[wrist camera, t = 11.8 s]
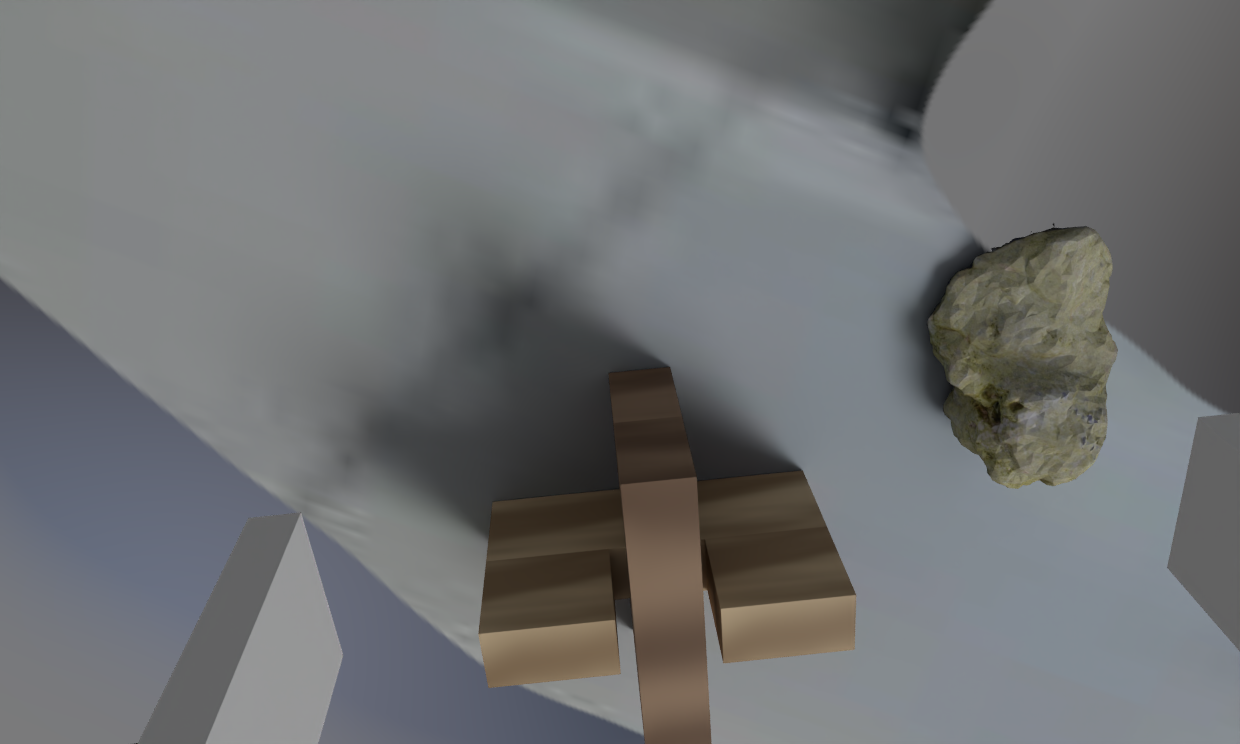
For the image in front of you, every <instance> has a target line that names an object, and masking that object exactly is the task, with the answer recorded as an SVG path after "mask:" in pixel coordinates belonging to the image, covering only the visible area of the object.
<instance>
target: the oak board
mask: <svg viewBox="0 0 1240 744" xmlns="http://www.w3.org/2000/svg"><path fill="white" fill-rule="evenodd" d="M697 492H698V510H699V528H700V546H701V565H702V583H703V591H704V590H708V594H709V599H710V604H711V608H712V613H713V617H714V622H715V627H716V631H717V636H718V640H719V645H720V650H721V654H722V659H723V663H731V662H741V661H750V660H760V659H770V658H779V657H789V656H798V655H808V654H817V653H827V652H837V651H846V650H854V649H855V617H856V593H855V591H854V589H853V586H852V584H851V582H850V579H849V577H848V575H847V572H846V570H845V568H844V565H843V563H842V561H841V558H840V556H839V554H838V552H837V549H836V547H835V545H834V542H833V540H832V538H831V535H830V533H829V531H828V528H827V526H826V524H825V521H824V519H823V517H822V514H821V512H820V510H819V507H818V505H817V503H816V500H815V498H814V496H813V493H812V491H811V489H810V486H809V484H808V482H807V479H806V477H805V475H804V472H803V470H802V471H792V472H782V473H772V474H763V475H753V476H743V477H733V478H723V479H713V480H703V481H697ZM627 598H631V597H630V587H629V576H628V566H627V555H626V545H625V535H624V525H623V515H622V506H621V497H620V489H615V490H605V491H595V492H585V493H575V494H565V495H555V496H546V497H536V498H526V499H516V500H506V501H496V502H493V503H492V512H491V522H490V531H489V540H488V550H487V559H486V568H485V578H484V587H483V596H482V606H481V615H480V625H479V640H480V645H481V650H482V656H483V661H484V666H485V671H486V676H487V682H488V687H489V688H492V687H501V686H511V685H521V684H530V683H540V682H549V681H559V680H569V679H578V678H588V677H597V676H607V675H616V674H621V673H620V661H619V649H618V637H617V624H616V612H615V600H617V599H627Z"/></svg>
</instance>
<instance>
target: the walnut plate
mask: <svg viewBox="0 0 1240 744" xmlns="http://www.w3.org/2000/svg"><path fill="white" fill-rule="evenodd" d="M608 375H609V385H610V395H611V406H612V416H613V426H614V437H615V447H616V457H617V468H618V478H619V487H620V497H621V506H622V515H623V525H624V535H625V545H626V555H627V566H628V576H629V587H630V597H631V598H630V603H631V613H632V623H633V633H634V643H635V653H636V662H637V672H638V681H639V691H640V701H641V710H642V720H643V729H644V739H645V744H711V728H710V710H709V692H708V674H707V656H706V637H705V619H704V601H703V583H702V565H701V546H700V528H699V510H698V492H697V476H696V472H695V468H694V464H693V460H692V456H691V451H690V447H689V443H688V439H687V435H686V431H685V427H684V422H683V418H682V414H681V410H680V406H679V402H678V398H677V393H676V389H675V385H674V381H673V377H672V373H671V369H670V367H664V368H654V369H644V370H634V371H624V372H614V373H608Z"/></svg>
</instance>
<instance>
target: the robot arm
mask: <svg viewBox="0 0 1240 744" xmlns="http://www.w3.org/2000/svg"><path fill="white" fill-rule="evenodd" d="M1167 568H1168V569H1169V570H1170V571H1171V573H1172V574H1173V575H1174V576H1175V577H1176V578H1177V579H1178V581H1179V582H1180V583H1181V584H1182V585H1183V586H1184V588H1185V589H1186V590H1187V591H1188V592H1189V593H1190V594H1191V596H1192V597H1193V598H1194V599H1195V600H1196V601H1197V603H1198V604H1199V605H1200V606H1201V607H1202V608H1203V609H1204V611H1205V612H1206V613H1207V614H1208V615H1209V616H1210V618H1211V619H1212V620H1213V621H1214V622H1215V623H1216V624H1217V626H1218V627H1219V628H1220V629H1221V630H1222V631H1223V633H1224V634H1225V635H1226V636H1227V637H1228V638H1229V639H1230V641H1231V642H1232V643H1233V644H1234V645H1235V646H1236V648H1237V649H1238V650H1239V651H1240V413H1235V414H1226V415H1216V416H1207V417H1198V421H1197V426H1196V431H1195V436H1194V440H1193V445H1192V450H1191V455H1190V460H1189V465H1188V469H1187V474H1186V479H1185V484H1184V489H1183V494H1182V498H1181V503H1180V508H1179V513H1178V518H1177V522H1176V527H1175V532H1174V537H1173V542H1172V547H1171V551H1170V556H1169V561H1168V566H1167ZM342 657H343V653H342V650H341V646H340V643H339V640H338V636H337V633H336V629H335V626H334V623H333V619H332V616H331V613H330V609H329V606H328V602H327V599H326V596H325V593H324V589H323V585H322V582H321V579H320V576H319V572H318V569H317V565H316V562H315V558H314V555H313V552H312V549H311V545H310V542H309V538H308V535H307V532H306V529H305V525H304V521H303V518H302V515H301V513H292V514H283V515H273V516H264V517H254V518H248V520H247V522H246V524H245V526H244V528H243V530H242V532H241V534H240V536H239V538H238V540H237V542H236V545H235V547H234V549H233V551H232V553H231V555H230V557H229V559H228V561H227V563H226V565H225V567H224V569H223V571H222V573H221V575H220V577H219V579H218V581H217V584H216V585H215V587H214V589H213V591H212V593H211V596H210V598H209V600H208V602H207V604H206V606H205V608H204V610H203V612H202V614H201V616H200V618H199V620H198V622H197V624H196V626H195V628H194V630H193V632H192V634H191V636H190V638H189V640H188V642H187V644H186V646H185V649H184V650H183V653H182V655H181V657H180V659H179V661H178V663H177V665H176V667H175V669H174V671H173V673H172V675H171V677H170V679H169V681H168V683H167V685H166V687H165V689H164V691H163V693H162V695H161V697H160V699H159V701H158V704H157V705H156V708H155V710H154V712H153V714H152V716H151V718H150V720H149V722H148V724H147V726H146V728H145V730H144V732H143V734H142V736H141V738H140V740H139V742H138V743H136V744H318V742H319V738H320V735H321V731H322V728H323V724H324V721H325V717H326V714H327V710H328V706H329V703H330V700H331V696H332V693H333V689H334V685H335V682H336V678H337V675H338V672H339V668H340V664H341V661H342Z"/></svg>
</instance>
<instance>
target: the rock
mask: <svg viewBox="0 0 1240 744" xmlns="http://www.w3.org/2000/svg"><path fill="white" fill-rule="evenodd" d="M1053 225H1054V224H1053ZM1111 273H1112V260H1111V254H1110V252H1109V250H1108V248H1107V246H1106V245H1105V243H1104V242H1103V240H1102V239H1101V237H1100V236H1099V234H1098V233H1097V232H1096V231H1095V230H1094V229H1092V228H1089V227H1087V226H1084V227H1072V228H1051V229H1048V230H1045V231H1042V232H1038V233H1033V234H1031V235H1029V236H1026V237H1021V238H1015V239H1013V240H1012V241H1010V242H1009V243H1006V244H1005V245H1003V246H1002V247H996V248H992V252H987V253H984V254H982V255H979V256H977V257H976V258H975V259H974V261H973V263H972V264H971V266H970V268H966V269H964V270H962V271H959V272H957V273H956V274H955V275H954V276H953V277H952V279H950V280H951V281H949V282H948V284H947V287H946V292H945V294H944V296H943V298H942V300H941V302H940V303H939V304H938V305H937V306H936V308H935V309H934V310H935V311H934V312H933V313H932V314H931V316H930V317H929V319H928V323H927V326H928V329H929V334H930V343H931V344H932V347H933V354H934V355H935V356H936V358H937V359H938V360H939V361H940V363H941V364H942V365H943V366H944V369H945V375H946V379H947V381H948V382H950V384H952V385H954V389H953V390H952V391H951V392H950V394H949V396H948V398H947V399H946V401H945V402H944V404H943V411H944V414H945V415H946V416H947V417H948V418H949V419H950V420H951V426H952V430H953V433H954V436H955V437H957V438H958V440H959V442H960V443H961V445H962V446H964V447H966V448H967V449H969V450H970V451H971V452H972V453H974V454H977V455H979V456H980V457H981V459H982V460H983V461H984V463H985V465H986V467H987V473H988V474H989V476H990V477H991V478H992V480H993V481H995V482H997V483H999V484H1002V485H1005V486H1006V487H1008V488H1015V489H1018V488H1020V487H1021V486H1022V485H1030V484H1031V483H1032V482H1035V481H1038V480H1040V481H1042V482H1043V483H1045V484H1046V485H1050V486H1056V485H1059V484H1061V483H1067V482H1070V481H1072V480H1073V479H1076V478H1077V477H1078V476H1079V475H1081V474H1082V473H1084V472H1085V471H1086V470H1087V469H1088V468H1089V467H1090V466H1092V465H1093V463H1094V462H1095V460H1096V459H1097V456H1098V454H1099V452H1100V449H1101V447H1102V445H1103V442H1104V441H1105V438H1106V431H1107V409H1106V399H1107V393H1106V382H1107V379H1108V376H1109V373H1110V370H1111V368H1112V365H1113V363H1114V362H1115V360H1116V356H1117V352H1118V349H1117V347H1116V344H1115V342H1114V341H1113V340H1112V336H1111V334H1110V333H1109V331H1108V329H1107V326H1106V324H1105V322H1104V319H1103V315H1102V312H1103V309H1104V307H1105V303H1106V299H1107V295H1108V290H1109V285H1110V284H1109V277H1110V276H1111Z"/></svg>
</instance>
